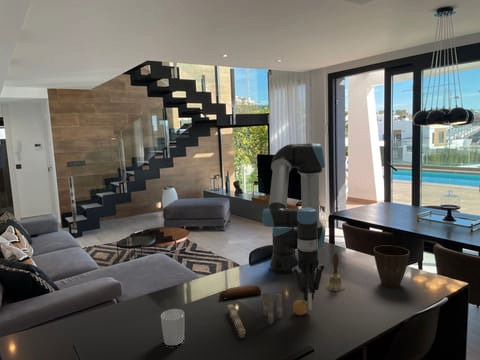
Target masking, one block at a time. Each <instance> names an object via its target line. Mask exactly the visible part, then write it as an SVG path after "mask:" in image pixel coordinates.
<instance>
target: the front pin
mask: <svg viewBox="0 0 480 360" xmlns="http://www.w3.org/2000/svg"><path fill="white" fill-rule="evenodd" d="M275 296H276V318H277V319H279V320H280V319H283V295H282V294H281V293H277V294H276V295H275Z"/></svg>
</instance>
